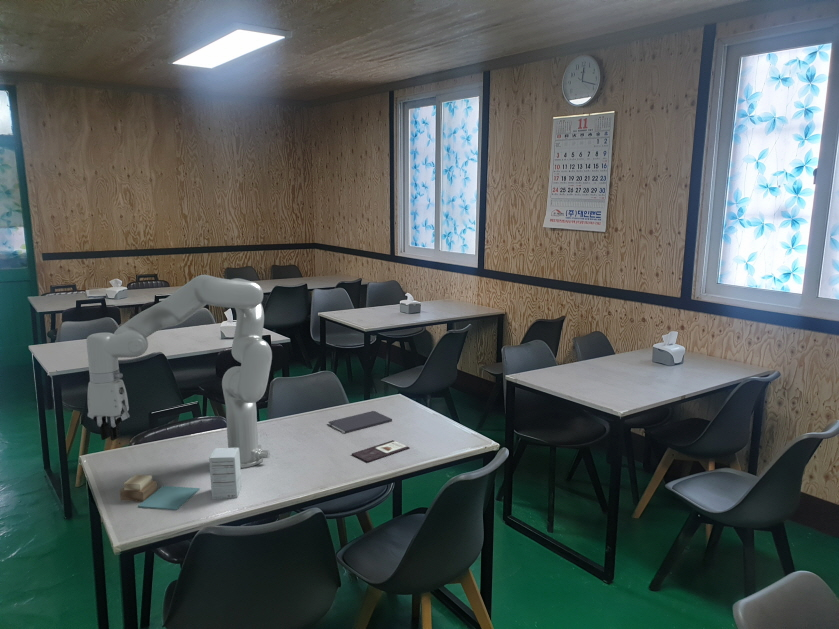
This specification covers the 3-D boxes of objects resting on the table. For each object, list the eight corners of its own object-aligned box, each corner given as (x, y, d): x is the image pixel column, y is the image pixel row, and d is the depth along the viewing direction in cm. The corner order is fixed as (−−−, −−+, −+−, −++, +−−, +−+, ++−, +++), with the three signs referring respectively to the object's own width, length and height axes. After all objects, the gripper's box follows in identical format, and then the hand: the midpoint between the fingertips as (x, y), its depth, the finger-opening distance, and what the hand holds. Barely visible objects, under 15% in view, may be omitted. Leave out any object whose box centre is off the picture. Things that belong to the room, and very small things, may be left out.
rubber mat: (199, 489, 188) (199, 488, 188) (176, 510, 175) (176, 508, 175) (163, 486, 190) (163, 485, 190) (137, 507, 177) (137, 505, 177)
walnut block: (157, 490, 187) (156, 481, 187) (143, 501, 180) (142, 492, 180) (135, 489, 188) (134, 479, 188) (121, 500, 181) (120, 490, 181)
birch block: (152, 481, 186) (151, 475, 186) (140, 491, 180) (139, 484, 180) (136, 480, 187) (136, 474, 187) (124, 489, 181) (123, 483, 181)
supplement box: (216, 488, 189) (214, 447, 187) (242, 487, 190) (240, 446, 187) (211, 499, 182) (208, 457, 180) (237, 498, 182) (235, 456, 180)
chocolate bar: (351, 453, 213) (392, 440, 225) (351, 456, 213) (392, 442, 225) (367, 461, 207) (409, 447, 218) (367, 464, 207) (409, 449, 219)
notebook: (344, 435, 233) (392, 422, 246) (344, 431, 233) (392, 418, 246) (327, 425, 243) (374, 414, 256) (327, 421, 243) (373, 410, 255)
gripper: (138, 374, 182) (143, 435, 185) (87, 372, 184) (93, 432, 187) (122, 381, 174) (128, 445, 178) (70, 379, 177) (76, 441, 180)
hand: (110, 438), depth 182 cm, fingers closed
